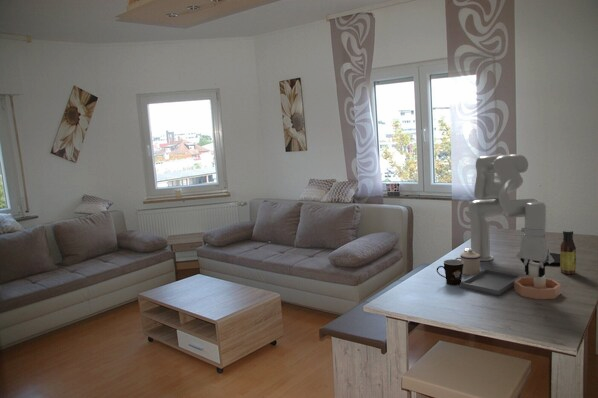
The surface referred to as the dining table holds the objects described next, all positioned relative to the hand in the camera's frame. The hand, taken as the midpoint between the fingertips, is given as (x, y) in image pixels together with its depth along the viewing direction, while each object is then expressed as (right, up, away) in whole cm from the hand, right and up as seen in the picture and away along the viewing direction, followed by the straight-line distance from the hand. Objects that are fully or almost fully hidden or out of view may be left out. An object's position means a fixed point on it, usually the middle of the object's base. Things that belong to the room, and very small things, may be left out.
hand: (534, 274), depth 186 cm
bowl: (+3, -8, +3) cm, 9 cm away
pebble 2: (+5, -6, +5) cm, 9 cm away
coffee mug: (-28, -7, +21) cm, 36 cm away
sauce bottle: (+28, -3, +24) cm, 37 cm away
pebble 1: (0, 0, 0) cm, 0 cm away
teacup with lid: (-15, -5, +33) cm, 37 cm away
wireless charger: (+31, -1, +43) cm, 53 cm away
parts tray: (-11, -7, +16) cm, 20 cm away
